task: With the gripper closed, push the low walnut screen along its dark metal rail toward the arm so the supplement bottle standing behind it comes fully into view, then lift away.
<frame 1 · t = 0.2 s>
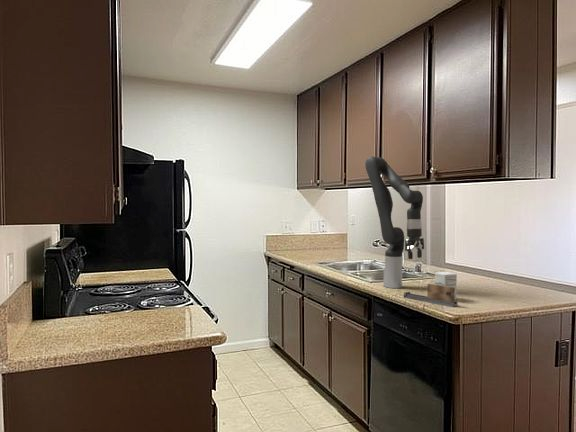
hand: (415, 258, 227), 17 cm above the counter, tool pointing down, fingers open, 8 cm apart
rail: (429, 301, 202), on the counter
supplement box: (445, 299, 208), on the counter
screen: (440, 293, 197), point 5 cm above the counter, slide at 0.0 cm
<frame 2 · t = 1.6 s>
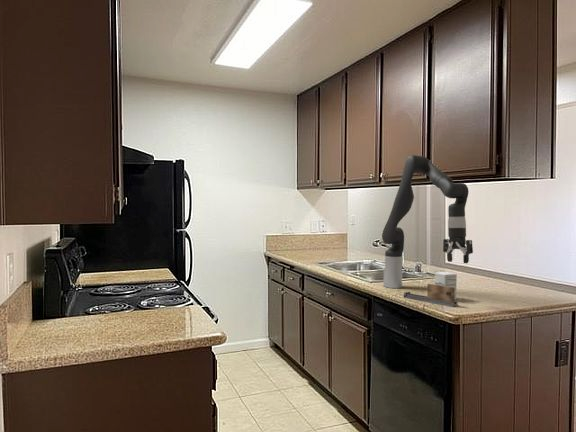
hand: (457, 262, 194), 19 cm above the counter, tool pointing down, fingers open, 8 cm apart
nothing on the counter moved.
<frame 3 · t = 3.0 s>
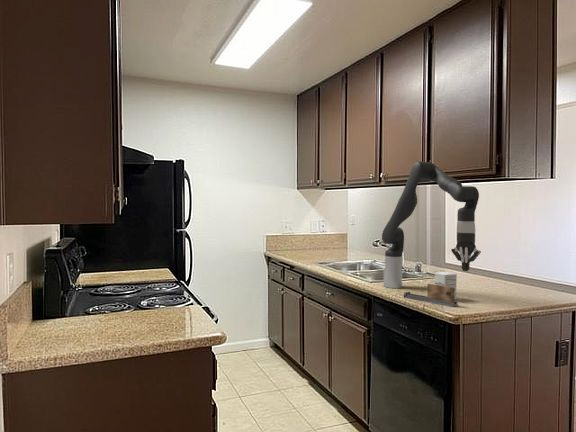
hand: (465, 270, 188), 17 cm above the counter, tool pointing down, fingers closed
nothing on the counter moved.
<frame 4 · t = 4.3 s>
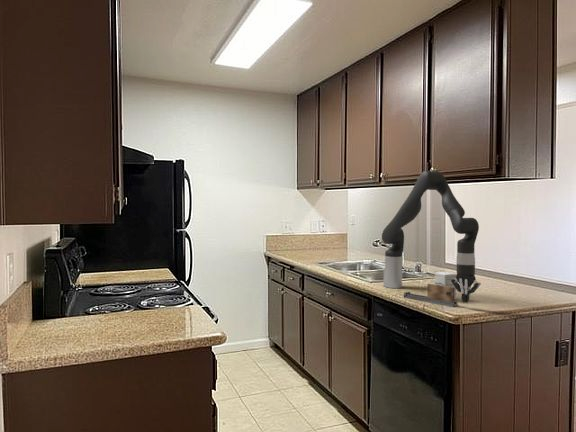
hand: (465, 302, 188), 3 cm above the counter, tool pointing down, fingers closed
nothing on the counter moved.
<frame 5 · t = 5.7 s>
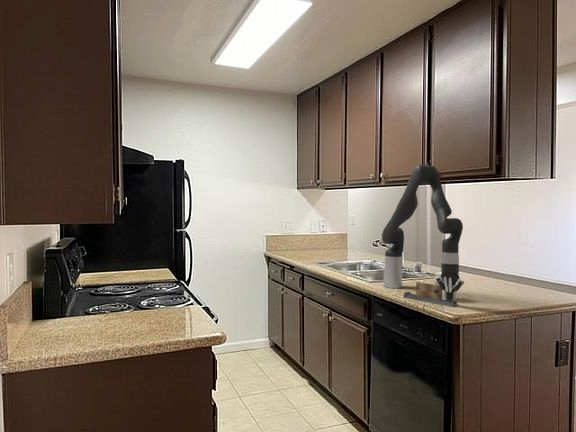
hand: (449, 300, 194), 2 cm above the counter, tool pointing down, fingers closed
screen: (428, 291, 202), point 5 cm above the counter, slide at 6.1 cm, touching hand
everything else where it was.
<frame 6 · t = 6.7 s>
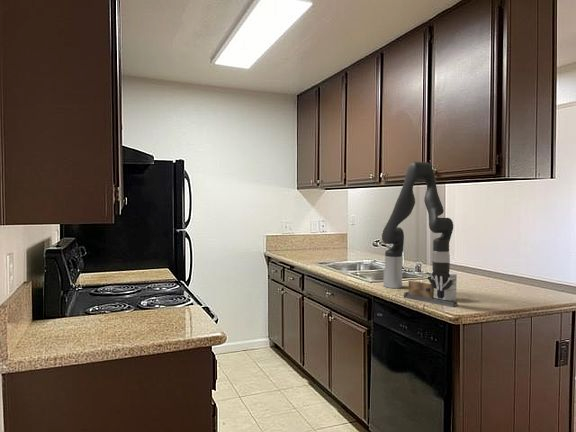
hand: (440, 298, 198), 2 cm above the counter, tool pointing down, fingers closed
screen: (420, 289, 205), point 5 cm above the counter, slide at 10.4 cm, touching hand
everything else where it was.
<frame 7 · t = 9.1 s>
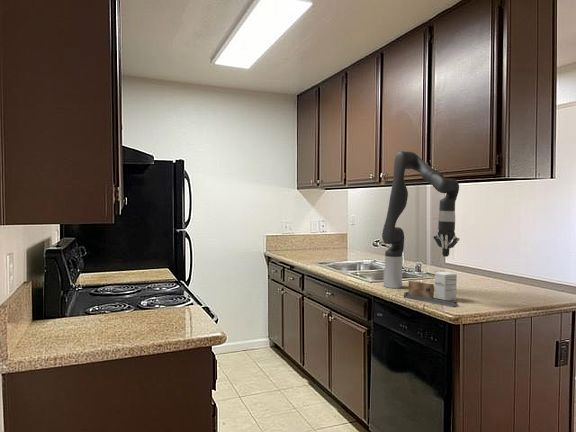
hand: (445, 256, 206), 21 cm above the counter, tool pointing down, fingers closed
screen: (420, 289, 205), point 5 cm above the counter, slide at 10.5 cm
everything else where it was.
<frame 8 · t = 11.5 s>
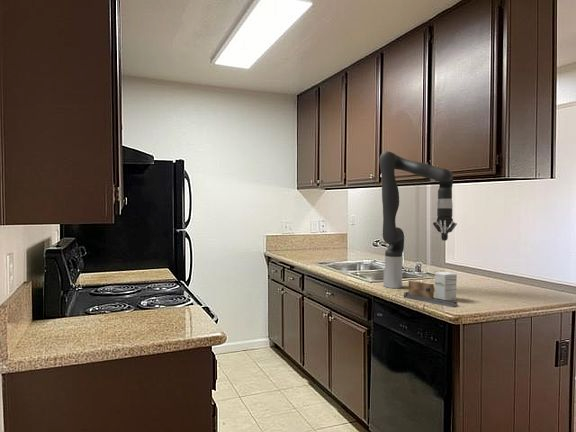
hand: (444, 240, 225), 27 cm above the counter, tool pointing down, fingers closed
nothing on the counter moved.
at the end: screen slide at 10.5 cm; supplement box moved 0.3 cm from its start; supplement box tilted 0° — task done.
